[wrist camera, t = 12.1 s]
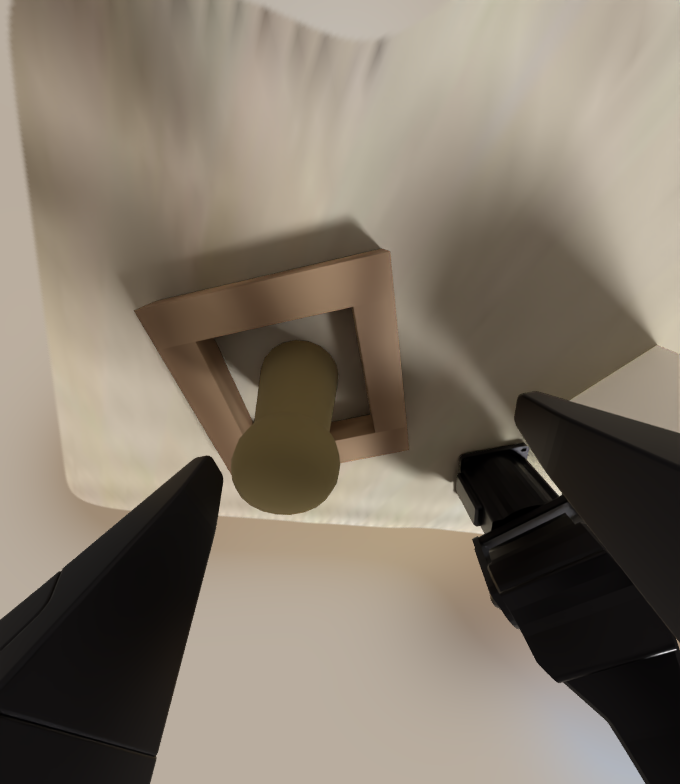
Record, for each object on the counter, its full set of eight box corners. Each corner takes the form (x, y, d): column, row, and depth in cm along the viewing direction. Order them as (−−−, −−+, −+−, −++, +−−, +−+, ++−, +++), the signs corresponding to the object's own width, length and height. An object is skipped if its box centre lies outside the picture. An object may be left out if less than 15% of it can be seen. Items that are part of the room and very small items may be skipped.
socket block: (381, 248, 17) (390, 251, 15) (401, 430, 25) (409, 449, 23) (156, 301, 18) (133, 310, 16) (243, 461, 26) (236, 482, 23)
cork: (349, 394, 22) (368, 514, 13) (282, 417, 23) (255, 545, 14) (321, 328, 19) (320, 420, 10) (245, 357, 20) (179, 467, 11)
